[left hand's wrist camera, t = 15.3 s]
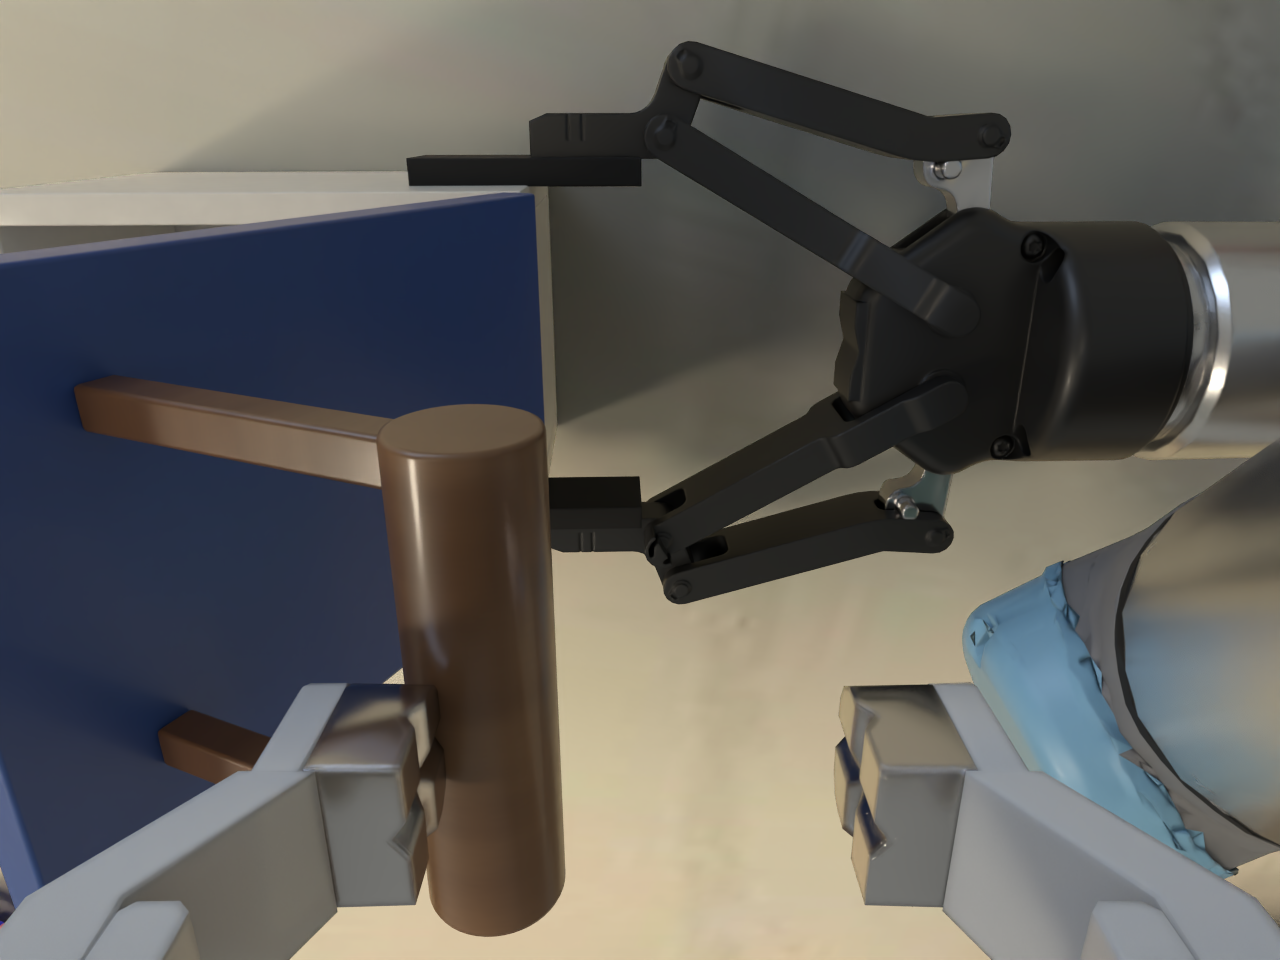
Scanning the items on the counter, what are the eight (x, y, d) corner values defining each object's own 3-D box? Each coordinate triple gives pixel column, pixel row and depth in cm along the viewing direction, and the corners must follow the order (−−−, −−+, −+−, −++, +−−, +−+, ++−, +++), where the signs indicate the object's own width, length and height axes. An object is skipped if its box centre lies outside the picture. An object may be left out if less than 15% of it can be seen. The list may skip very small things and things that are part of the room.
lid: (17, 922, 14) (455, 1160, 11) (-209, 278, 10) (357, 348, 7) (522, 543, 26) (794, 600, 23) (502, 192, 23) (821, 202, 20)
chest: (202, 431, 36) (50, 545, 26) (152, 172, 33) (-46, 193, 23) (557, 426, 37) (538, 538, 27) (547, 170, 33) (521, 191, 23)
